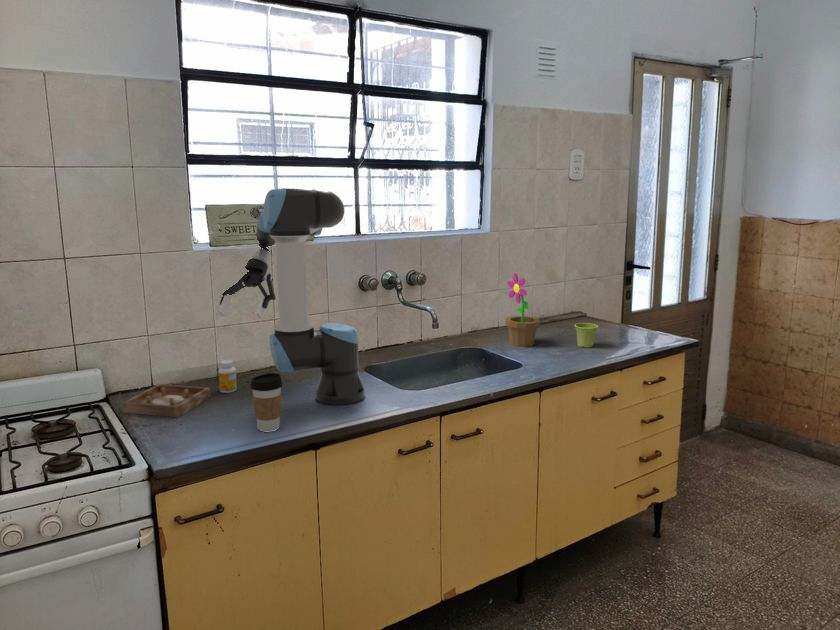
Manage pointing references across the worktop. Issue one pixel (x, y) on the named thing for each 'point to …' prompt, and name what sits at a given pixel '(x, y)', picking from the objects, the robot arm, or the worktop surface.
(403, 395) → the worktop surface
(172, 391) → the pin tray
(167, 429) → the worktop surface
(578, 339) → the plant pot
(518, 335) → the flowerpot
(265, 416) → the coffee cup
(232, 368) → the supplement bottle
